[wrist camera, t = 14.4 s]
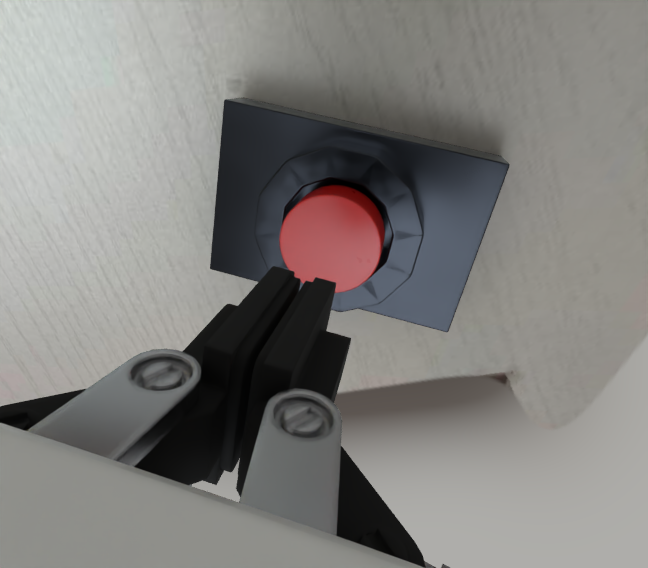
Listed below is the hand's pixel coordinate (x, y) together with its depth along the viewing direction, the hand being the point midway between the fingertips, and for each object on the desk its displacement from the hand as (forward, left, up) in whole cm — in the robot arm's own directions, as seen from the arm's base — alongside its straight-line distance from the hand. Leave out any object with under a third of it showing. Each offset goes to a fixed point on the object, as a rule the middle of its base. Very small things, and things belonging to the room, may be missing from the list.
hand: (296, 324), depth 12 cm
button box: (0, 0, -12) cm, 12 cm away
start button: (0, 0, -8) cm, 8 cm away
